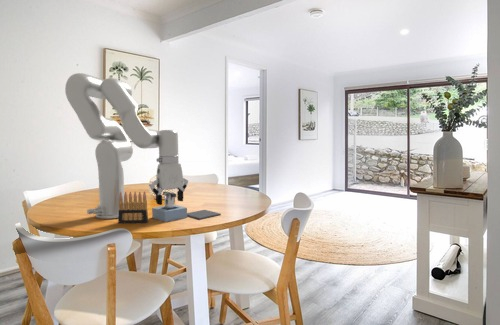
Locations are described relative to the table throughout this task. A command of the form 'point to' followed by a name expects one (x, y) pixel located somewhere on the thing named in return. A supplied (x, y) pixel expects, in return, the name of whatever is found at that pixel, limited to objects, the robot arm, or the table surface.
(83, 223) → the table surface
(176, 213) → the block
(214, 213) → the rubber mat
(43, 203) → the table surface
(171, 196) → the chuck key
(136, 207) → the ammunition clip
